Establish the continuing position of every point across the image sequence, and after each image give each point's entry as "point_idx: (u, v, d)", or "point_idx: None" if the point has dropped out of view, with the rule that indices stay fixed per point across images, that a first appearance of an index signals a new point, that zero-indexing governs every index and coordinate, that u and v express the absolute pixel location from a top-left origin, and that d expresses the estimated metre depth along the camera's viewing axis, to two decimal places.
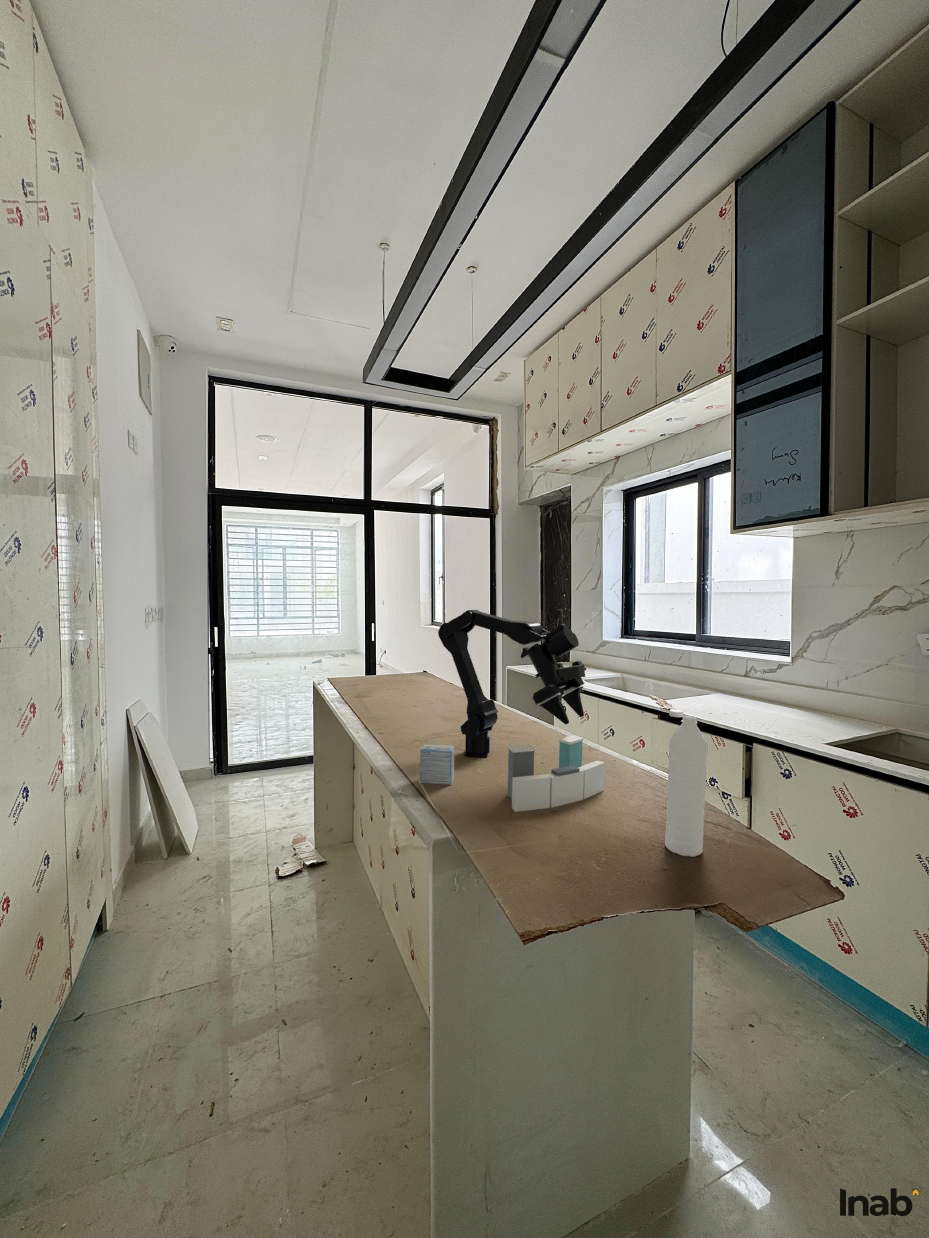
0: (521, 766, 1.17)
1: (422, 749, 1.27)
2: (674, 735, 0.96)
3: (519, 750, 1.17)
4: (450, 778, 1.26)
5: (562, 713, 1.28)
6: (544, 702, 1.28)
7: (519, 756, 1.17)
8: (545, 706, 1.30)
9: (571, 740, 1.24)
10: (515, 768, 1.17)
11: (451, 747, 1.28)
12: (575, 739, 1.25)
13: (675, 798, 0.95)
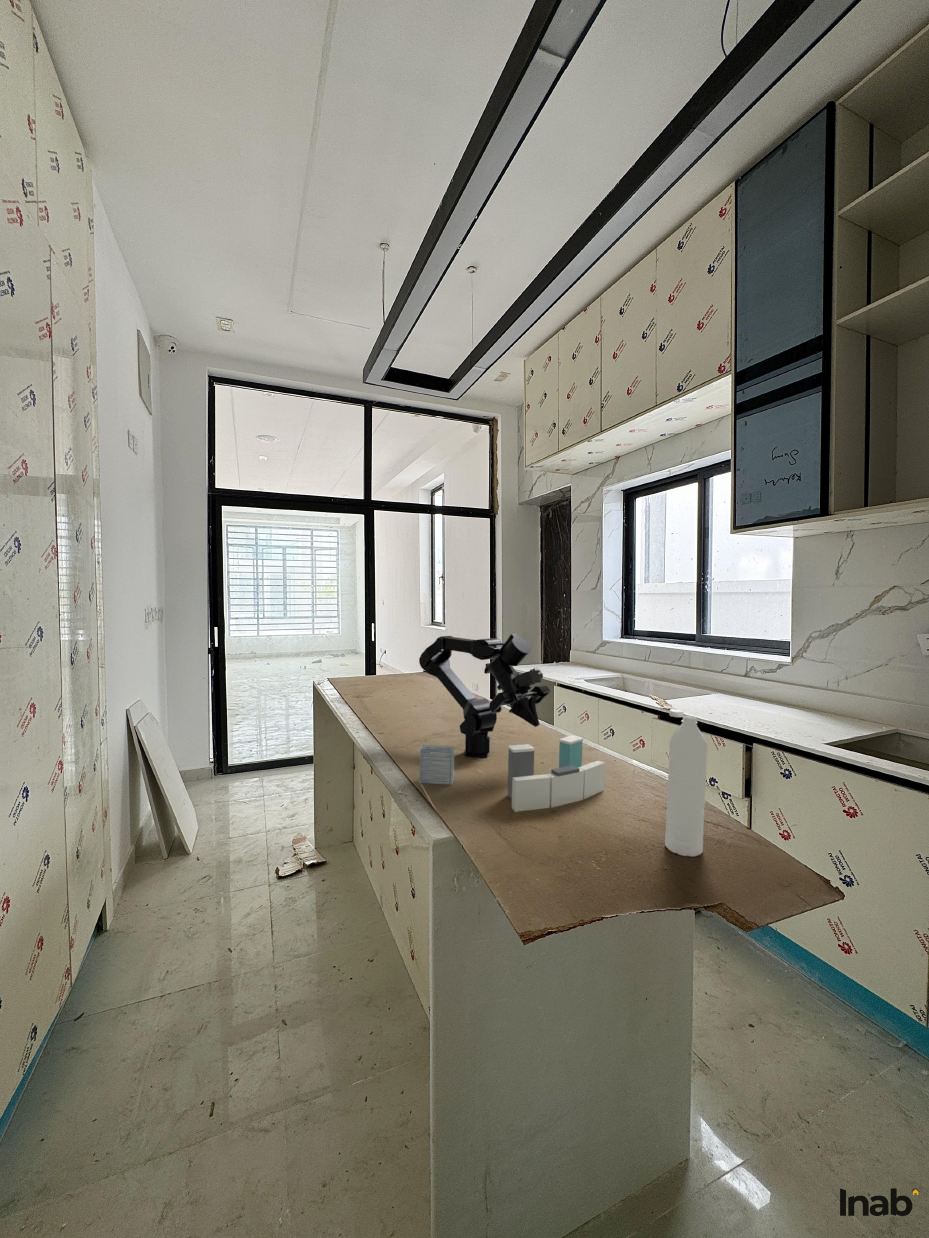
0: (521, 766, 1.17)
1: (422, 749, 1.27)
2: (674, 735, 0.96)
3: (519, 750, 1.17)
4: (450, 778, 1.26)
5: (530, 716, 1.34)
6: (511, 707, 1.35)
7: (519, 756, 1.17)
8: (515, 711, 1.36)
9: (571, 740, 1.24)
10: (515, 768, 1.17)
11: (451, 747, 1.28)
12: (575, 739, 1.25)
13: (675, 798, 0.95)
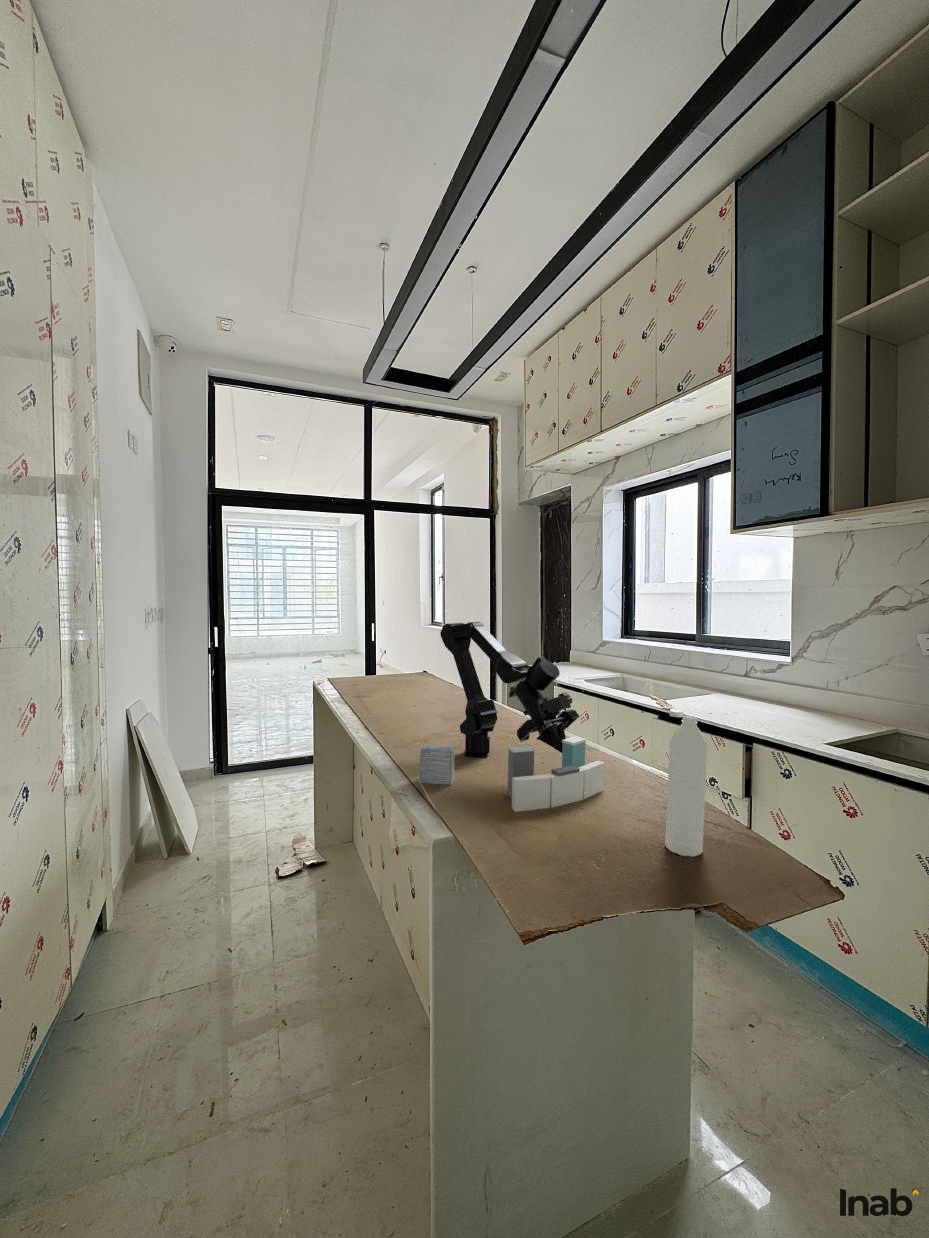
0: (521, 766, 1.17)
1: (422, 749, 1.27)
2: (674, 735, 0.96)
3: (519, 750, 1.17)
4: (450, 778, 1.26)
5: (559, 744, 1.27)
6: (540, 734, 1.28)
7: (519, 756, 1.17)
8: (543, 739, 1.29)
9: (574, 741, 1.24)
10: (515, 768, 1.17)
11: (451, 747, 1.28)
12: (578, 740, 1.25)
13: (675, 798, 0.95)
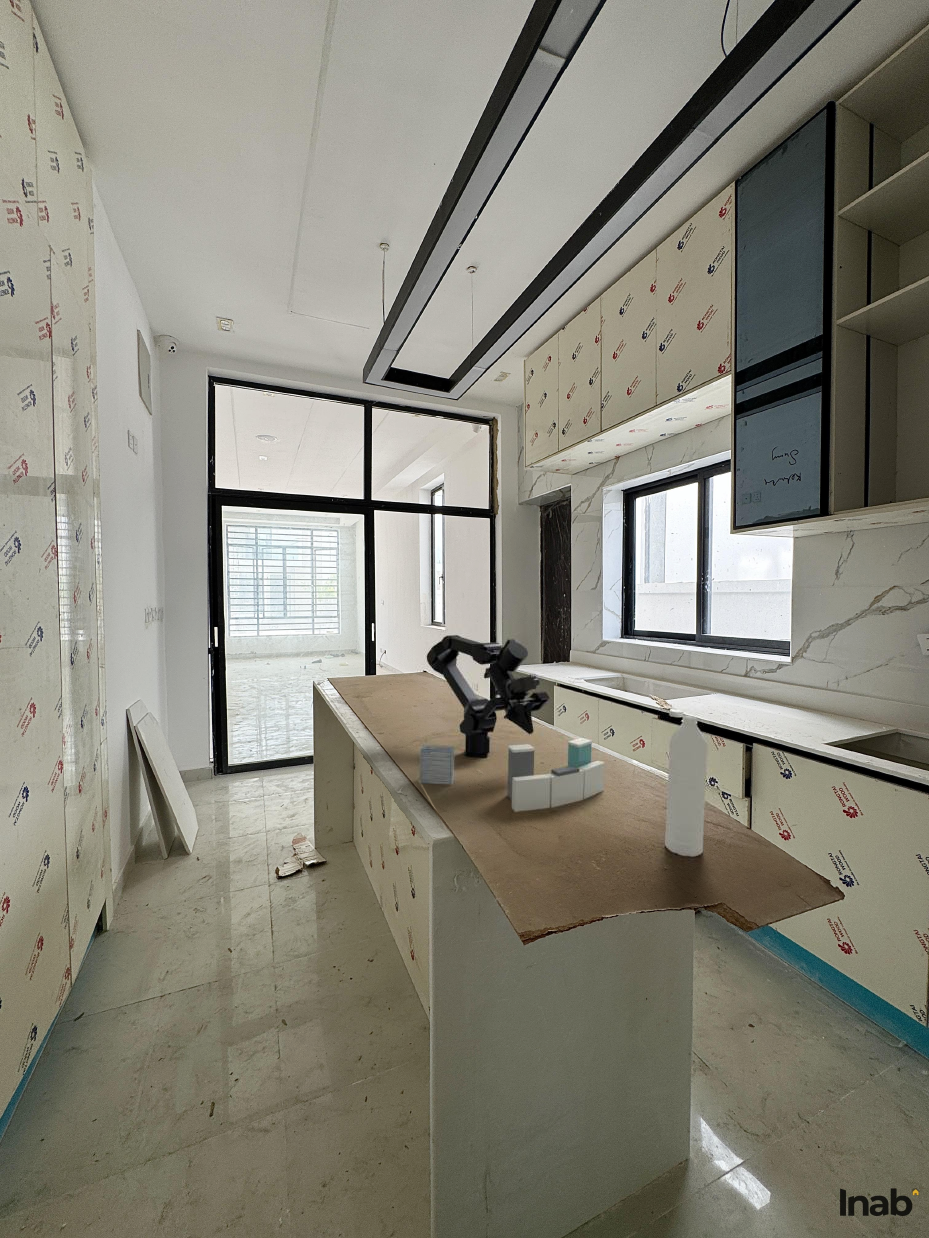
0: (521, 766, 1.17)
1: (422, 749, 1.27)
2: (674, 735, 0.96)
3: (519, 750, 1.17)
4: (450, 778, 1.26)
5: (524, 723, 1.31)
6: (506, 713, 1.33)
7: (519, 756, 1.17)
8: (510, 718, 1.34)
9: (580, 743, 1.22)
10: (515, 768, 1.17)
11: (451, 747, 1.28)
12: (584, 741, 1.23)
13: (675, 798, 0.95)
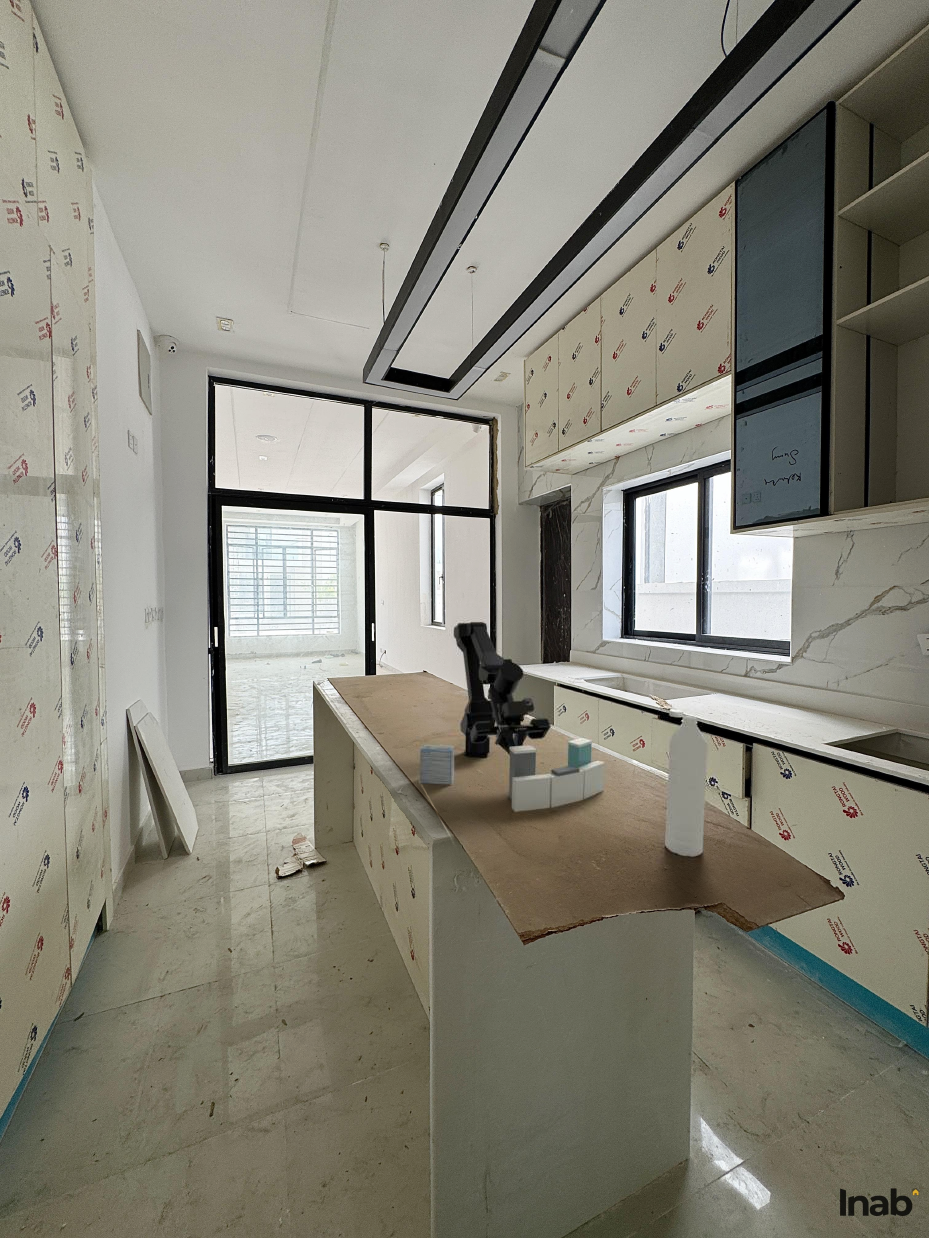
0: (522, 767, 1.16)
1: (422, 749, 1.27)
2: (674, 735, 0.96)
3: (521, 751, 1.16)
4: (450, 778, 1.26)
5: None
6: (496, 739, 1.24)
7: (520, 758, 1.16)
8: (501, 744, 1.24)
9: (580, 743, 1.22)
10: (517, 770, 1.16)
11: (451, 747, 1.28)
12: (584, 741, 1.23)
13: (675, 798, 0.95)
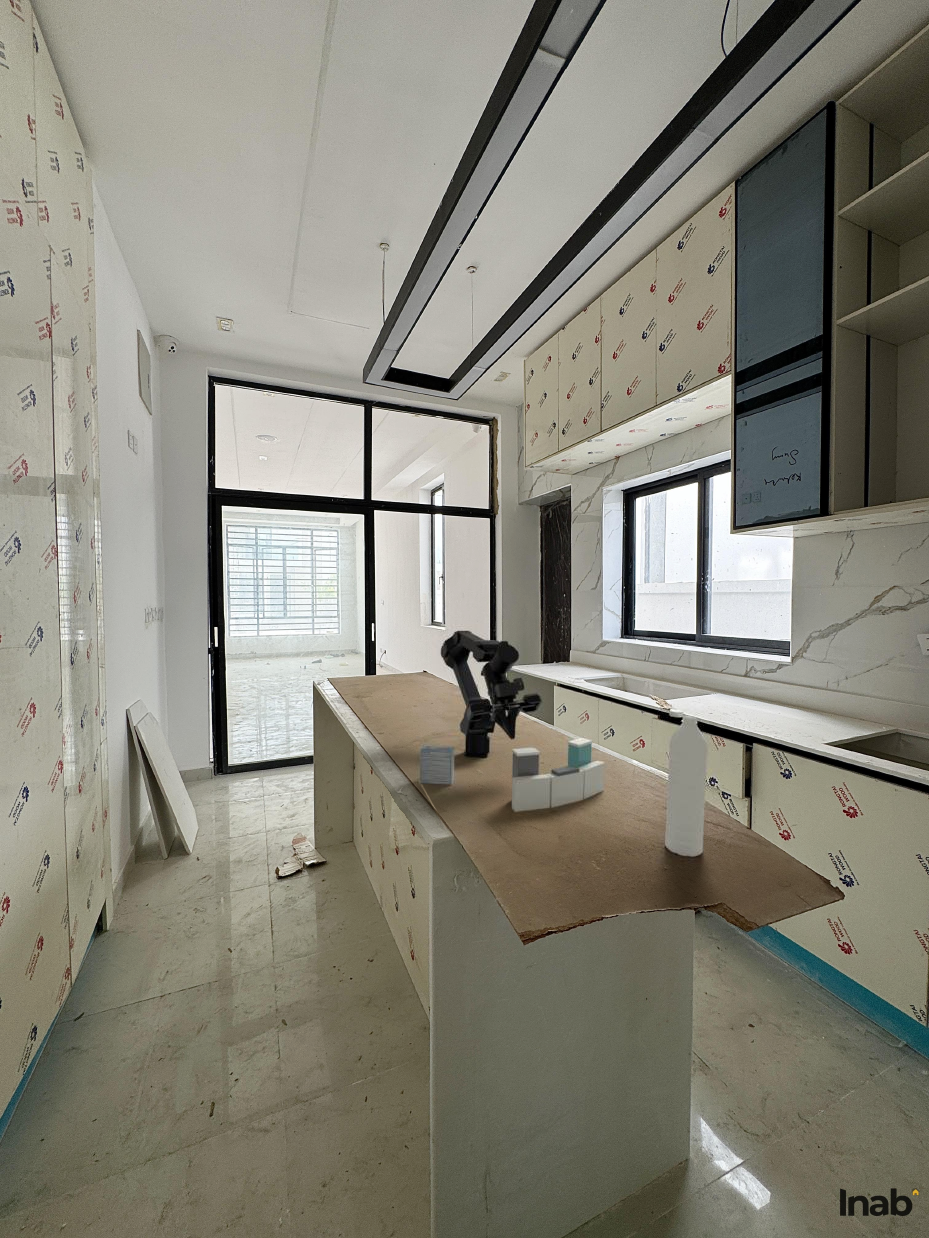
0: (525, 770, 1.15)
1: (422, 749, 1.27)
2: (674, 735, 0.96)
3: (524, 754, 1.14)
4: (450, 778, 1.26)
5: (506, 728, 1.30)
6: (491, 716, 1.33)
7: (523, 760, 1.15)
8: (496, 720, 1.34)
9: (580, 743, 1.22)
10: (520, 772, 1.14)
11: (451, 747, 1.28)
12: (584, 741, 1.23)
13: (675, 798, 0.95)
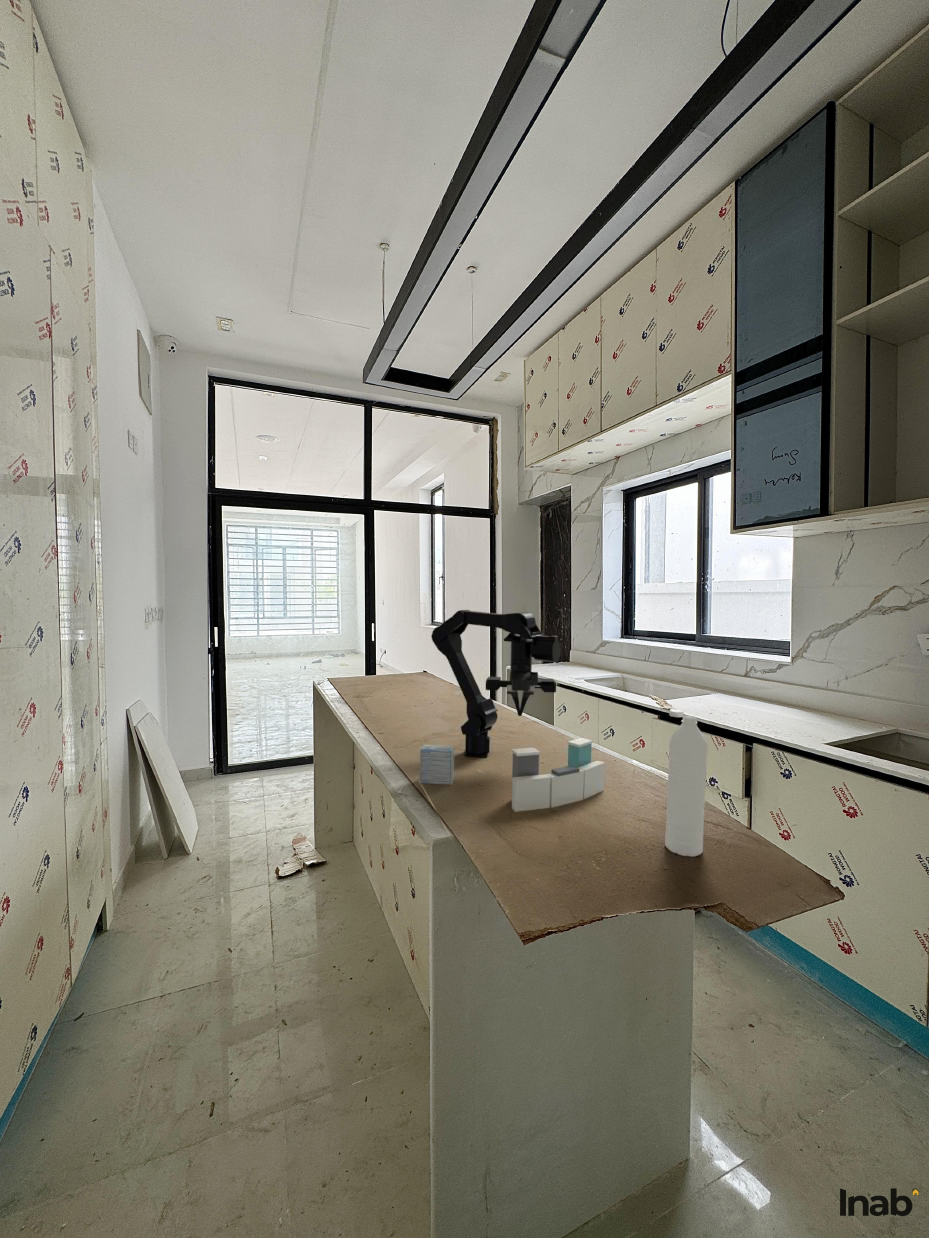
0: (525, 770, 1.15)
1: (422, 749, 1.27)
2: (674, 735, 0.96)
3: (524, 754, 1.14)
4: (450, 778, 1.26)
5: None
6: None
7: (523, 760, 1.15)
8: None
9: (580, 743, 1.22)
10: (520, 772, 1.14)
11: (451, 747, 1.28)
12: (584, 741, 1.23)
13: (675, 798, 0.95)
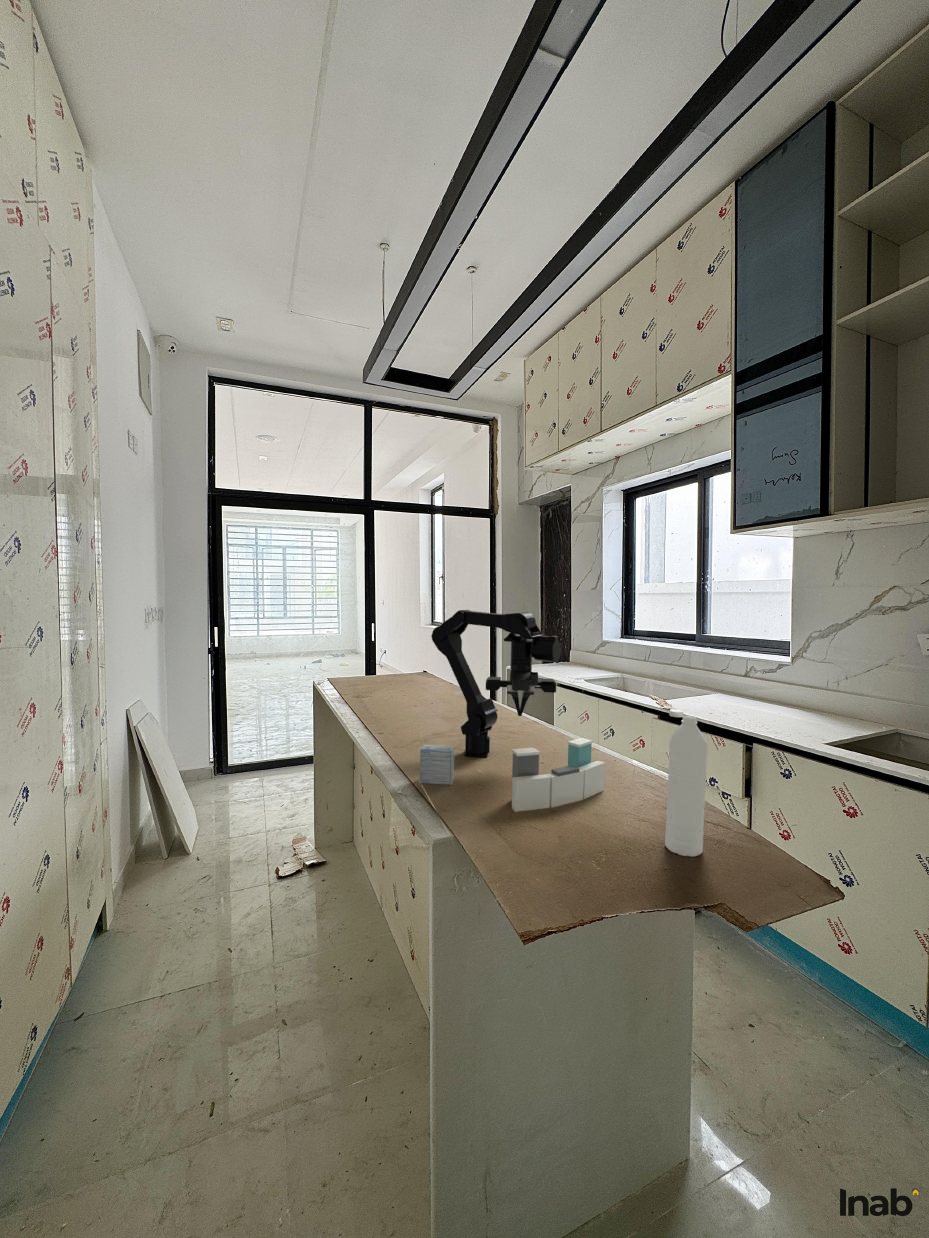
0: (525, 770, 1.15)
1: (422, 749, 1.27)
2: (674, 735, 0.96)
3: (524, 754, 1.14)
4: (450, 778, 1.26)
5: None
6: (507, 689, 1.44)
7: (523, 760, 1.15)
8: None
9: (580, 743, 1.22)
10: (520, 772, 1.14)
11: (451, 747, 1.28)
12: (584, 741, 1.23)
13: (675, 798, 0.95)
